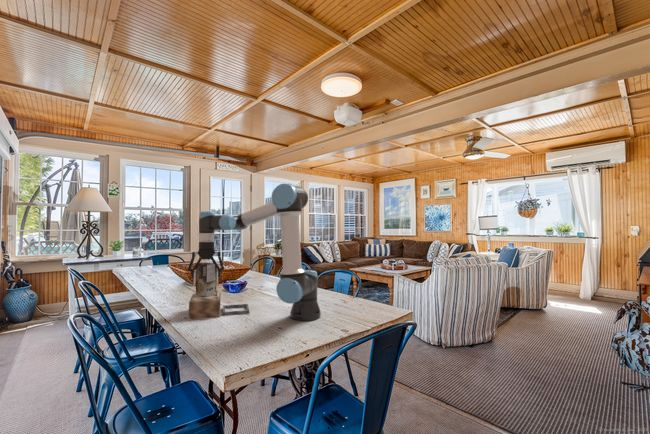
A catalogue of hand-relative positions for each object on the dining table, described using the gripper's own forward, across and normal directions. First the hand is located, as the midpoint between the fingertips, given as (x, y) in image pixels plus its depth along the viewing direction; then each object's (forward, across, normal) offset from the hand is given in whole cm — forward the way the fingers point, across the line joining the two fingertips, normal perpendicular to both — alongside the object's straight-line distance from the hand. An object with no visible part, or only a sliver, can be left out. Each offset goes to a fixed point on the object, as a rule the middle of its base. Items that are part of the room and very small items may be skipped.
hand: (206, 284), depth 161 cm
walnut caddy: (+15, -8, 0) cm, 17 cm away
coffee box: (+5, 0, 0) cm, 5 cm away
